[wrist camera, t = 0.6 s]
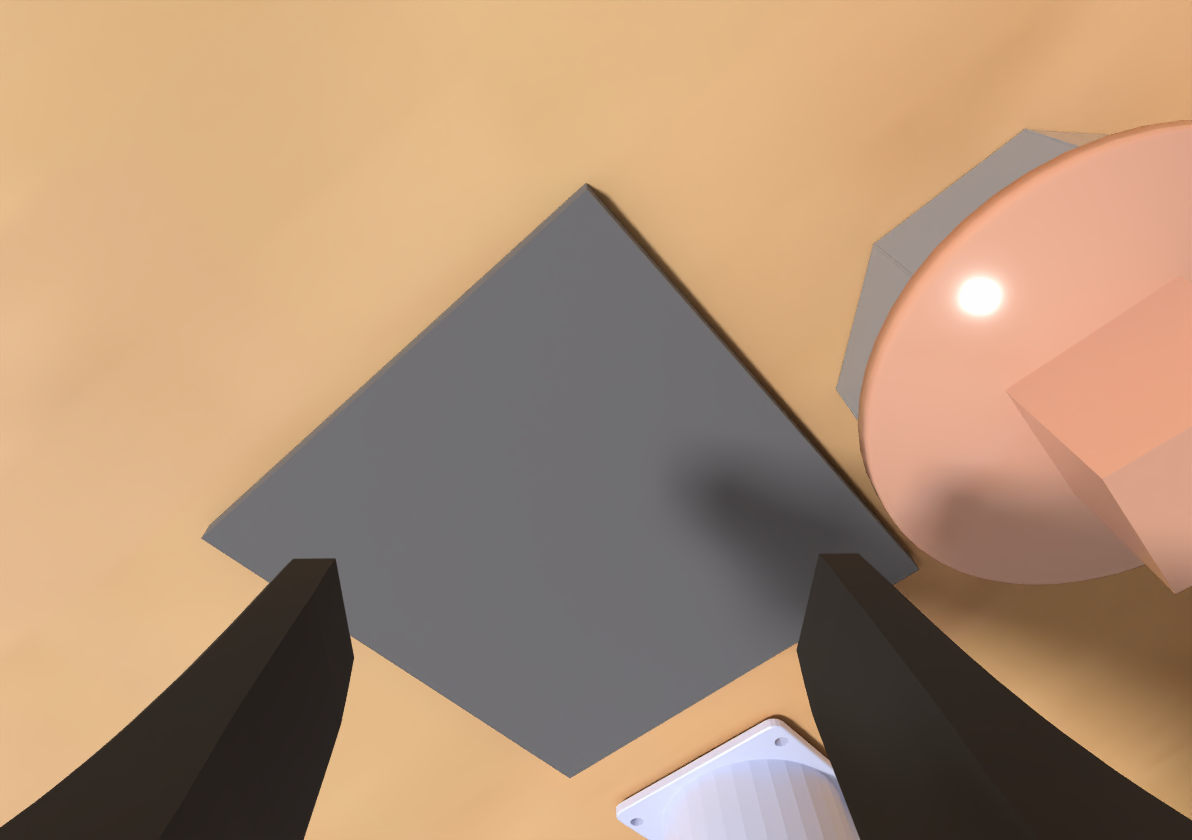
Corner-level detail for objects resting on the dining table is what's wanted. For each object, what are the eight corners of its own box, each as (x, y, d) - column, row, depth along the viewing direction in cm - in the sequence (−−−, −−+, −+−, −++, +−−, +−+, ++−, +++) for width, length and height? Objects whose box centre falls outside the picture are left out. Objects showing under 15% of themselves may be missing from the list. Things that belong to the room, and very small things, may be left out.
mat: (911, 557, 25) (919, 569, 24) (569, 764, 29) (570, 778, 29) (585, 183, 18) (586, 188, 17) (209, 525, 23) (201, 538, 22)
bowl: (1273, 338, 21) (1374, 389, 19) (952, 532, 24) (1000, 599, 22) (1144, 36, 17) (1251, 47, 14) (777, 316, 20) (810, 367, 17)
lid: (1414, 390, 19) (1628, 493, 15) (988, 627, 22) (1075, 758, 18) (1281, -19, 14) (1546, -16, 10) (764, 365, 17) (821, 471, 14)
